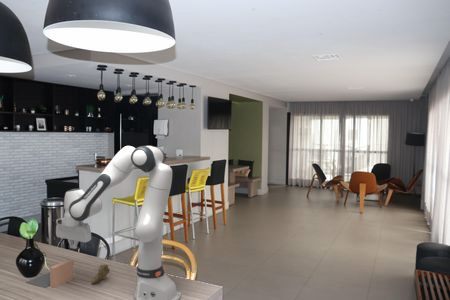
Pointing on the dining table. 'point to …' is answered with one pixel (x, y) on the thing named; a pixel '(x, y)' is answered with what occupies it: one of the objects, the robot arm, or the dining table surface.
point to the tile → (61, 273)
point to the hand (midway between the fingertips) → (73, 248)
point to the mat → (41, 280)
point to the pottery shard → (101, 273)
